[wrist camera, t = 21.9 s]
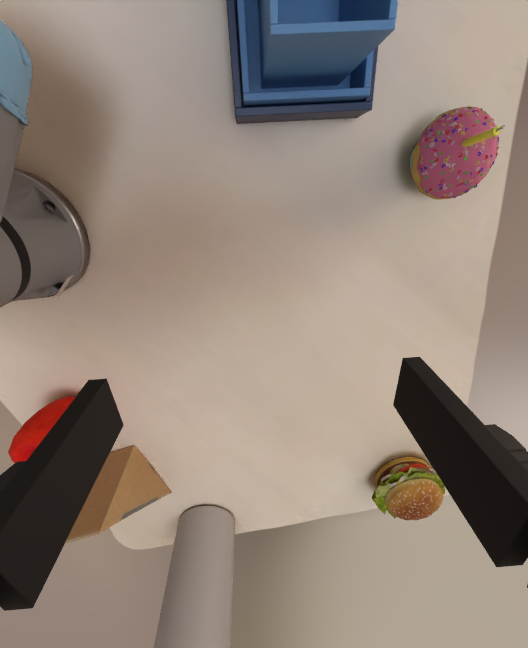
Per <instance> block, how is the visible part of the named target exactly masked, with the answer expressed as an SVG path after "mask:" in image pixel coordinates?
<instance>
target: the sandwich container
mask: <svg viewBox="0 0 528 648" xmlns="http://www.w3.org/2000/svg"><path fill="white" fill-rule="evenodd" d="M169 493H171V491H170V490H169V488H168V487H167V485H166V484H165V483H164V481H163V480H162V479H161V477H160V476H159V475H158V473H157V472H156V471H155V470H154V469H153V467H152V466H151V465H150V464H149V462H148V461H147V459H146V458H145V457H144V456H143V455H142V454H141V452H140V451H139V450H138V449H137V448H136V447H135V446H130V447H127V448H123V449H120V450H116V451H113V452H110V453H109V455H108V457H107V459H106V461H105V463H104V465H103V467H102V469H101V471H100V473H99V475H98V477H97V479H96V481H95V483H94V485H93V487H92V489H91V491H90V493H89V495H88V497H87V500H86V502H85V504H84V506H83V508H82V510H81V512H80V514H79V516H78V518H77V520H76V522H75V524H74V526H73V528H72V530H71V532H70V534H69V536H68V538H67V540H66V542H65V543H68V542H73V541H77V540H80V539H83V538H86V537H89V536H92V535H95V534H99V533H100V532H102V531H104V530H105V529H107V528H109V527H111V526H112V525H114V524H116V523H117V522H119V521H121V520H122V519H124V518H126V517H128V516H129V515H131V514H133V513H135V512H137V511H138V510H140V509H142V508H144V507H145V506H147V505H149V504H151V503H153V502H155V501H156V500H158V499H160V498H162V497H164V496H166V495H168V494H169Z"/></svg>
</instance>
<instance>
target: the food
mask: <svg viewBox="0 0 528 648" xmlns="http://www.w3.org/2000/svg"><path fill="white" fill-rule="evenodd" d="M375 485H376V487H377V490H376V492H374V493H373V496H372V499H373V501H374V502H375V503H376V505H377V507H378V508H379V509H380V510H381V511H382V512H383V513H384V514H385V511H386V510H388V512H389V513H390V514H391V515H392V516H393V517H394V518H396V517H398V518H401V519H404V520H419V519H422V518H426V517H428V516H430V515H432V513H434V512H435V511H436V510H438V508H439V507H440V505H441V503H442V500H443V495H444V493H445V487H444V486H445V485H444V484H443V482H442V481H441V479H440V478H439V476H438V474H437V473H436V472H435V470H433V469H432V468H431V467H430V466H429V465H428V464H427V463H426V462H425V461H423V460H422V459H419V458H415V457H403V458H399V459H395V460H392V461H390V462H389V463H387V464H385V465H384V466H382V467H381V468H380V470H379V471H378V472H377V474H376V476H375Z"/></svg>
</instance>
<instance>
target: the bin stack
mask: <svg viewBox="0 0 528 648" xmlns="http://www.w3.org/2000/svg"><path fill="white" fill-rule="evenodd" d="M226 1H227V14H228V27H229V40H230V53H231V66H232V79H233V92H234V105H235V117H236V122H237V124H242V123H262V122H282V121H302V120H322V119H342V118H357V117H359V116H361V115H362V114H364V113H366V112H368V111H370V110H372V101H373V93H374V83H375V73H376V63H377V52H378V46H377V47H376V48H375V49H374V50H373V51H372V52H371V53H370V54H369V55H368V56H367V57H366V58H365V59H364V60H363V61H362V62H361V63H360V64H359V65H358V66H357V67H356V68H355V69H354V70H353V71H352V72H351V73H350V74H349V75H348V76H347V77H346V78H345V79H344V80H343V81H342V82H341V83H340V84H339V85H333V86H312V87H290V88H269V89H262V88H261V64H260V40H259V16H258V0H226Z"/></svg>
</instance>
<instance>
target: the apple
mask: <svg viewBox="0 0 528 648" xmlns="http://www.w3.org/2000/svg"><path fill="white" fill-rule="evenodd" d="M74 398H75V397H65V398H61V399H58V400H56V401H54V402H52V403H50V404H48V405H46V406H45V407H44V408H42V409H41V410H39V411H38V412H37V413H36V414H34V415H33V416H32V417H31V418H30V419H29V420H28V421H26V422H25V423H24V425H23V426H22V427H21V429H20V430H19V431H18V432H17V434H16V435H15V436H14V438H13V441H12V443H11V446H10V449H9V451H8V452H9V455H10V457H11V459H12V461H13V462H14V463H16V462H19V461H27V459H28V458H29V457H30V455H31V454H32V453H33V451H34V450H35V449H36V448H37V446H38V445H39V444H40V442H41V441H42V440H43V439H44V437H45V436H46V435H47V433H48V432H49V431H50V430H51V428H52V427H53V426H54V424H55V423H56V422H57V420H58V419H59V418H60V417H61V415H62V414H63V413H64V411H65V410H66V409H67V408H68V406H69V405H70V404H71V402H72V401H73V400H74Z"/></svg>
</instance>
